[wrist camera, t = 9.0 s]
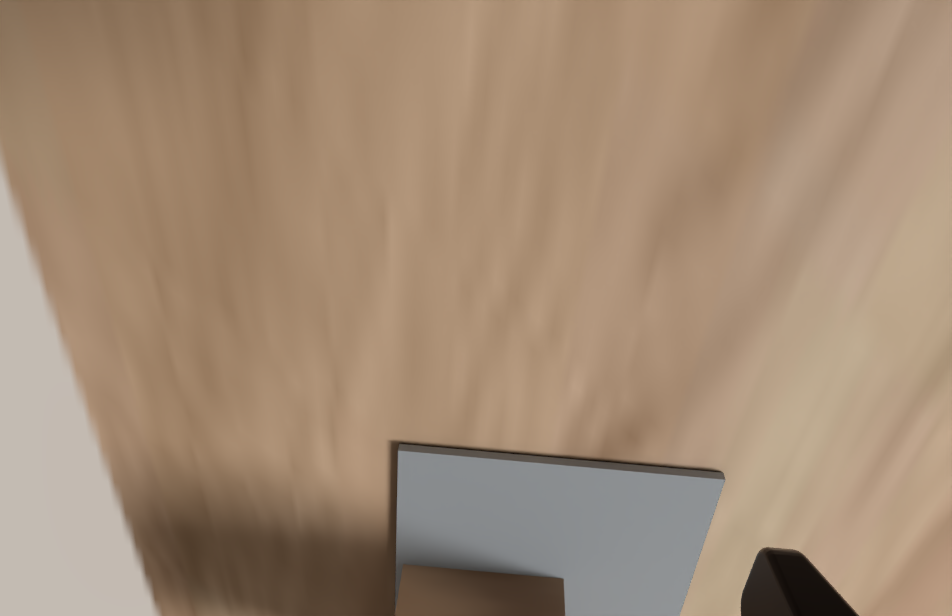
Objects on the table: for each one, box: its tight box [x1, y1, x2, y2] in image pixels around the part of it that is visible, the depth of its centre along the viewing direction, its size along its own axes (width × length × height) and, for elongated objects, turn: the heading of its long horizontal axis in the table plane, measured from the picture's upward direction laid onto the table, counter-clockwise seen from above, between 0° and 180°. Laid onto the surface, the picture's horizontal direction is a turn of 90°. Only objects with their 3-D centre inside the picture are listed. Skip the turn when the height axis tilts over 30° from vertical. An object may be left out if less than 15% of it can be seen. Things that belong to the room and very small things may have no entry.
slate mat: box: [395, 444, 725, 616], centre depth 27 cm, size 10×12×1 cm
